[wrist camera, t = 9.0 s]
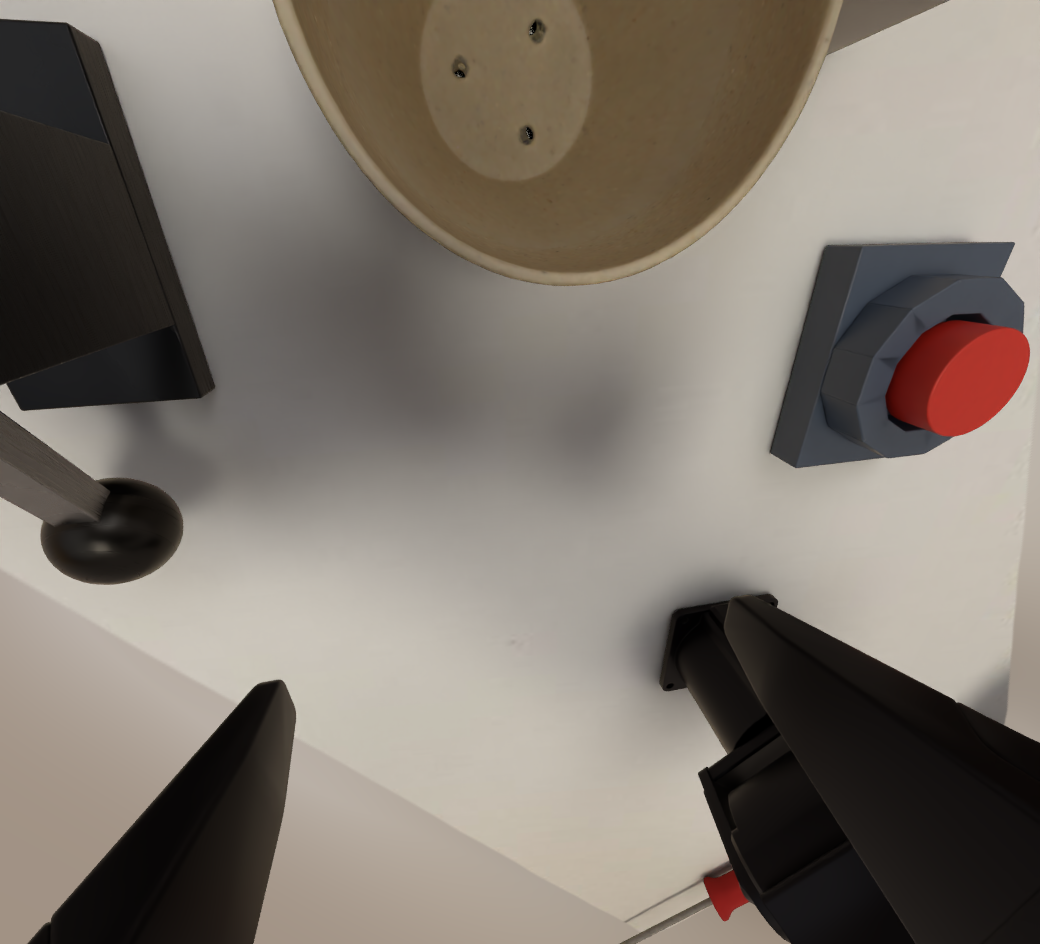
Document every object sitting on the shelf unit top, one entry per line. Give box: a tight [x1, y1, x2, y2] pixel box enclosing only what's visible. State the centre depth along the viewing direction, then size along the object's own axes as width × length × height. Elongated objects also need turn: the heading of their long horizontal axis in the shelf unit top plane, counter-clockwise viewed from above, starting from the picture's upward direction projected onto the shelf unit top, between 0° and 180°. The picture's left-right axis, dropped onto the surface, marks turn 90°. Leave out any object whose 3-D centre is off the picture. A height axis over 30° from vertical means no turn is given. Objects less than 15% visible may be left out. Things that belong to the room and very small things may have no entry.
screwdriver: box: [620, 870, 749, 944], centre depth 43 cm, size 4×25×4 cm
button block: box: [771, 242, 1024, 468], centre depth 19 cm, size 9×7×4 cm
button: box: [885, 320, 1030, 436], centre depth 17 cm, size 4×4×2 cm
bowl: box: [273, 0, 843, 286], centre depth 10 cm, size 10×10×7 cm
